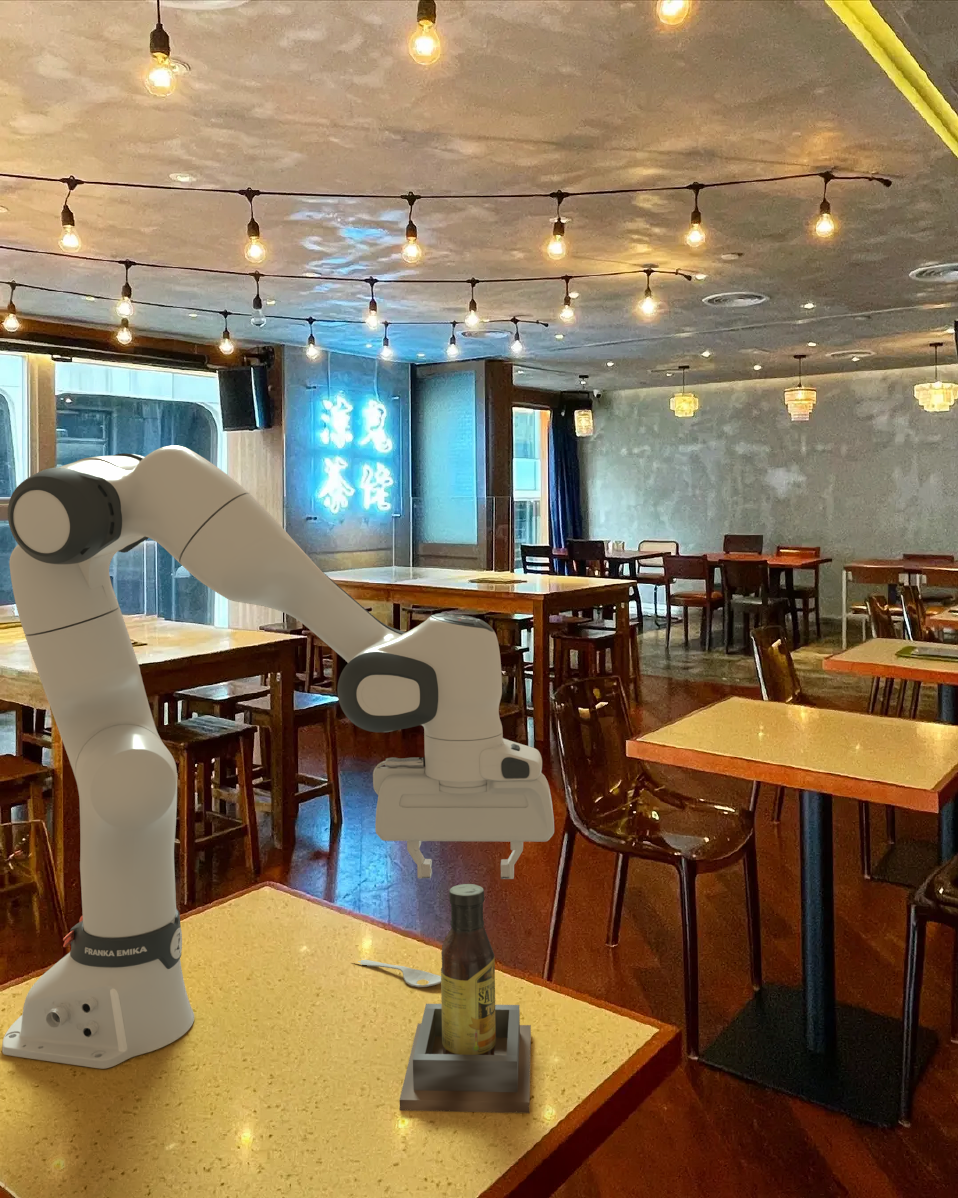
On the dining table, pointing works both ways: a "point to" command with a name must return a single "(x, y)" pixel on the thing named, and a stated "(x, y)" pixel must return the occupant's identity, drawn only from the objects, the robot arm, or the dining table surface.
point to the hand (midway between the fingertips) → (466, 877)
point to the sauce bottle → (467, 977)
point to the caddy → (469, 1069)
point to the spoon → (409, 974)
